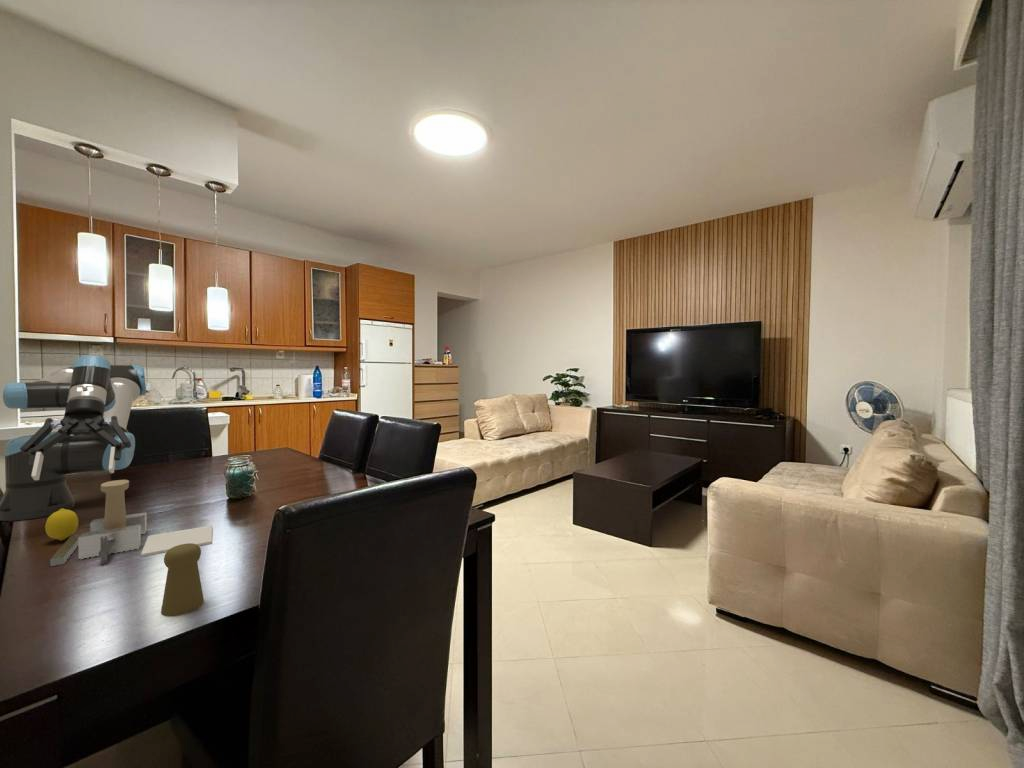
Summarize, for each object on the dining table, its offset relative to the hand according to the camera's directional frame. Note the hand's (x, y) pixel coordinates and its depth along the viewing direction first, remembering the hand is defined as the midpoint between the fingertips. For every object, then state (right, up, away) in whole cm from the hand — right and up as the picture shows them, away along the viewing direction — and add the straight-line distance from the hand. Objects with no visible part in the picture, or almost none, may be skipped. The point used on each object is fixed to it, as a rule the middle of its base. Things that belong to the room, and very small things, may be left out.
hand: (74, 474), depth 105 cm
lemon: (+1, -16, -4) cm, 16 cm away
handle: (+16, -16, -6) cm, 23 cm away
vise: (+16, -17, -9) cm, 25 cm away
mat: (+29, -16, -3) cm, 34 cm away
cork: (+53, -17, -31) cm, 64 cm away
